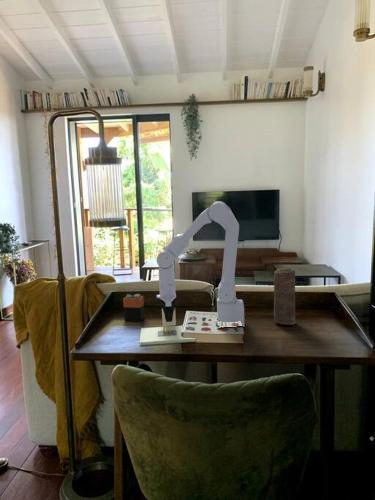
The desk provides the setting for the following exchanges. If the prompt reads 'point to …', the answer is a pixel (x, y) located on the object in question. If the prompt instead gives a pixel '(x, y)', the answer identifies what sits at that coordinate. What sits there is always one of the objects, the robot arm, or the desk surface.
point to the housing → (168, 322)
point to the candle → (284, 296)
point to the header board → (162, 335)
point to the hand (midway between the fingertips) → (168, 319)
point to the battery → (133, 308)
